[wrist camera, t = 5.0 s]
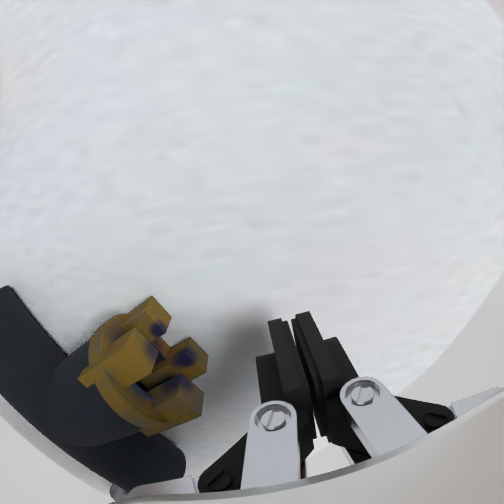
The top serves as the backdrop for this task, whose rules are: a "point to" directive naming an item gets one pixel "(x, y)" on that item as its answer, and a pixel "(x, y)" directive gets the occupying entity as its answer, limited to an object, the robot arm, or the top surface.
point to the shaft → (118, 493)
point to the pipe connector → (105, 390)
